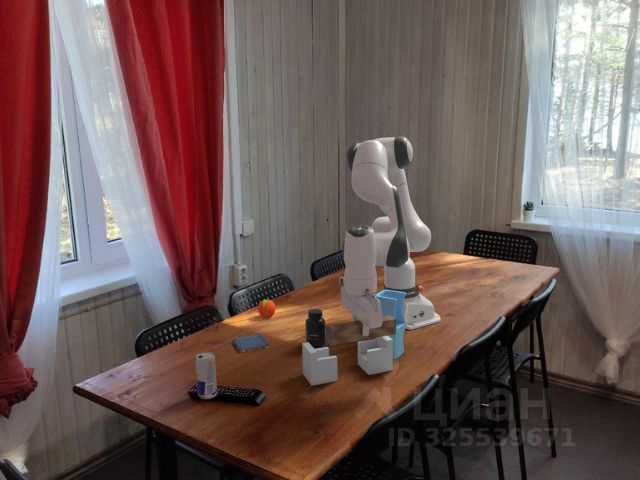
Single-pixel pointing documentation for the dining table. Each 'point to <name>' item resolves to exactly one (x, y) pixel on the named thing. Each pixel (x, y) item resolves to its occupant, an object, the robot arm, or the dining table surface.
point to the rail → (358, 331)
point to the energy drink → (206, 375)
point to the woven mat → (250, 343)
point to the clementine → (266, 308)
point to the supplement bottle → (315, 328)
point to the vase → (394, 307)
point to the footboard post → (318, 365)
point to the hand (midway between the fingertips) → (361, 332)
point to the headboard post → (376, 355)
